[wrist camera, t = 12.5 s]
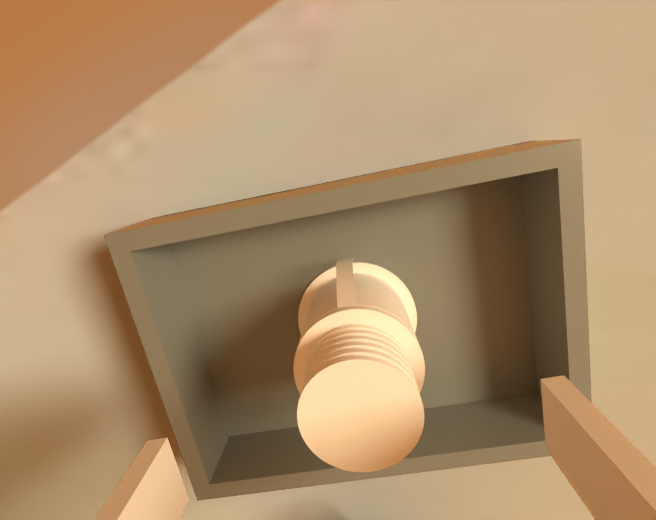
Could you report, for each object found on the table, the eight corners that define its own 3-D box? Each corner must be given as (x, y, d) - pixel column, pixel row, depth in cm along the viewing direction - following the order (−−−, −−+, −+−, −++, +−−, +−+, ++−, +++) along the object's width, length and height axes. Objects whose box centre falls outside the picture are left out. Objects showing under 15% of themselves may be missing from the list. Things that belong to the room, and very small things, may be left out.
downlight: (424, 368, 25) (471, 499, 15) (313, 385, 26) (289, 519, 16) (405, 243, 23) (443, 298, 13) (286, 264, 24) (240, 330, 14)
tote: (223, 440, 28) (197, 500, 23) (152, 217, 24) (103, 235, 19) (548, 394, 26) (593, 450, 21) (530, 141, 22) (580, 139, 17)
